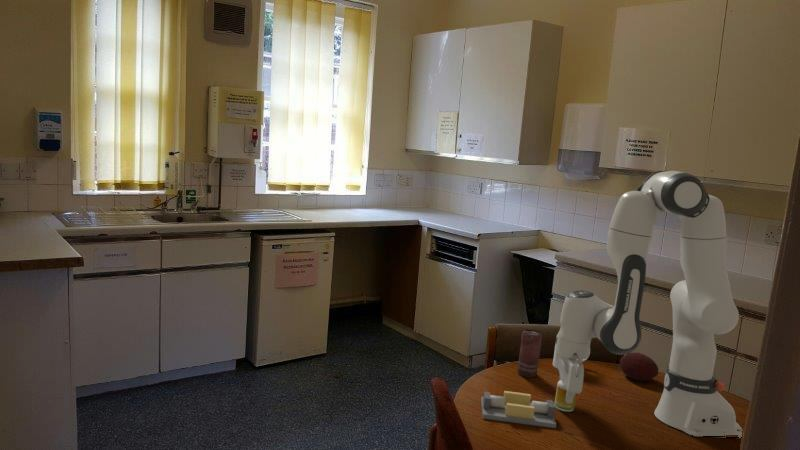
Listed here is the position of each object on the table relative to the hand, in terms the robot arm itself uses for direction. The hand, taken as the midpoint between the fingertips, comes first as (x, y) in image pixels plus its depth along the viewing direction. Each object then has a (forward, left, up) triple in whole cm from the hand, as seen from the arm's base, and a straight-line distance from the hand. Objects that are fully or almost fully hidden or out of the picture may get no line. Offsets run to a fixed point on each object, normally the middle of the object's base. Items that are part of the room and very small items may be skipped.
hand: (565, 394), depth 171 cm
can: (+8, -22, -4) cm, 24 cm away
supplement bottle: (0, 0, -4) cm, 4 cm away
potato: (-29, -31, -4) cm, 43 cm away
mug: (-8, -34, -4) cm, 35 cm away
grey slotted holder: (+14, +8, -4) cm, 16 cm away
